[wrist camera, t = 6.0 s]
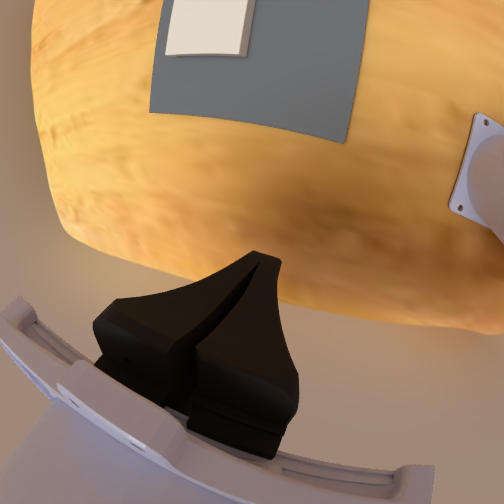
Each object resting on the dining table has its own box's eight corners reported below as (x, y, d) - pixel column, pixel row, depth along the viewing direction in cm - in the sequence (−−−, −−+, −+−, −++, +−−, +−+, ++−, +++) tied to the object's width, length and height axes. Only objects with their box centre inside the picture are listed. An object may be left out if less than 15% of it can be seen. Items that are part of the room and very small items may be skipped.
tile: (251, -18, 11) (176, -10, 13) (238, 54, 15) (165, 55, 16) (258, -11, 12) (186, -6, 14) (246, 57, 16) (175, 56, 17)
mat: (371, -40, 9) (372, -44, 8) (344, 142, 18) (344, 144, 17) (179, -40, 12) (174, -43, 11) (154, 111, 21) (149, 112, 20)
